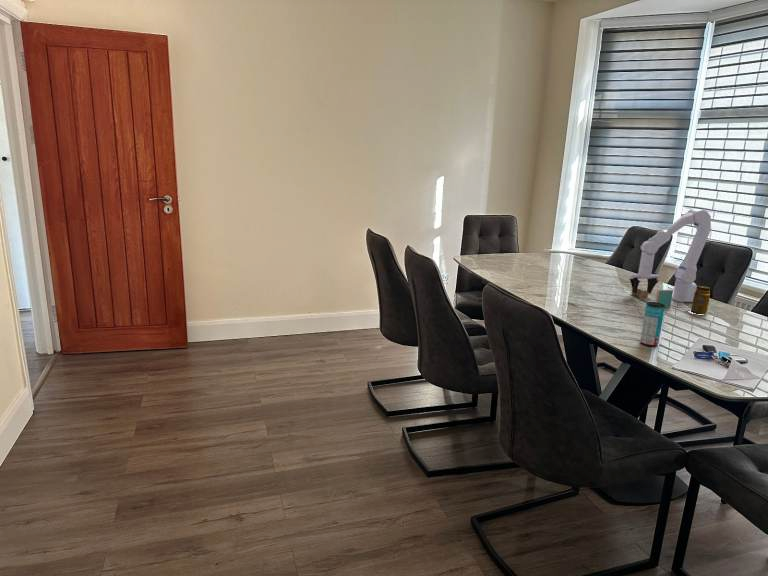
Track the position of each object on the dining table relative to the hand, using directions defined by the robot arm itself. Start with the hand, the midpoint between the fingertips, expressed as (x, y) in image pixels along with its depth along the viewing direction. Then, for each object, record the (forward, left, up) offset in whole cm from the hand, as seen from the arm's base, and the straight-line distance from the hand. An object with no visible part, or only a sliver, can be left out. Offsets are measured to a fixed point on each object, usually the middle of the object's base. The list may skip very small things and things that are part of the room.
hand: (641, 293), depth 259 cm
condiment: (-10, +27, -3) cm, 28 cm away
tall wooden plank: (0, +3, -2) cm, 3 cm away
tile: (0, +17, -2) cm, 17 cm away
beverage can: (+40, +67, -2) cm, 78 cm away
